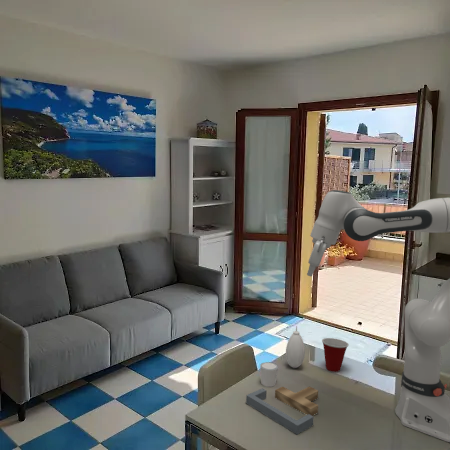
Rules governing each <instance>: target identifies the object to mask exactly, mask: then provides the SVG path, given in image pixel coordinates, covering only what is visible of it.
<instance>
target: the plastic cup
mask: <svg viewBox="0 0 450 450" xmlns="http://www.w3.org/2000/svg"><path fill="white" fill-rule="evenodd" d="M321 342H322V344H323V352H324V353H323V354H324V361H325V362H324V363H325V368H326V370H327V371H328V372H331V373H338V372H340V371H341V368H342V365H343V362H344V358H345V354H346V350H347V348H348V347H349V343H348V342H347V341H345V340H344V339H343V340H342V339H339V338H333V337H326V338H323V339H321Z"/></svg>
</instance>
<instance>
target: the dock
mask: <svg viewBox="0 0 450 450" xmlns="http://www.w3.org/2000/svg"><path fill="white" fill-rule="evenodd" d="M245 399H246V400H245V402H246V404H247V405H248V406H250V407H252V408H253V409H255V410H256V411H258V412H260V413H261V414H263V415H264V416H265V417H268V418H269V419H271V420H273V421H274V422H276V423H277V424H279V425H280V426H282V427H284V428H286V429H287V430H289V431H291V432H292V433H293V434H295V435H299V434H301V433H303V432H304V431H306V430H309V427H310V428H312V427H313V426H314V421H315V420H314V419H315V417H314V416H311V415H310V414H308V415H304V416H302V417H301V418H299V419H295V418H293V417H292V416H290V415H288V414H287V413H285V412H283V411H282V410H280V409H278V408H276V407H274V406H273V405H272V404H269V403H267V402H266V401H264V400H266V399H267V390H266V389H265V388H260V389H258V390H255V391H253V392H251V393H248V394H246V396H245ZM312 425H313V426H312ZM302 431H303V432H302ZM300 432H301V433H300Z"/></svg>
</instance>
